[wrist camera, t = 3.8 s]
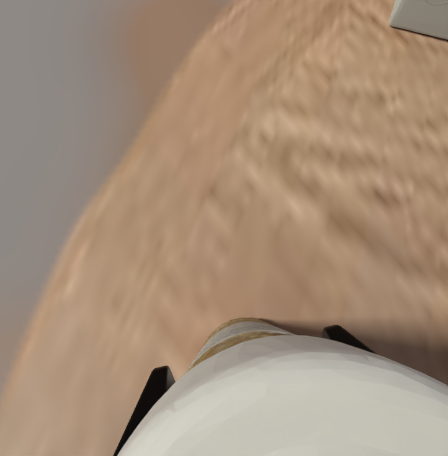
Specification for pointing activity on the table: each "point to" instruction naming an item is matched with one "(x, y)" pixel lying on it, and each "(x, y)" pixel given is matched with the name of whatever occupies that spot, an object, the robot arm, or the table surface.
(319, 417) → the sprinkles bottle
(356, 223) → the table surface
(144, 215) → the table surface
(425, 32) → the small box
